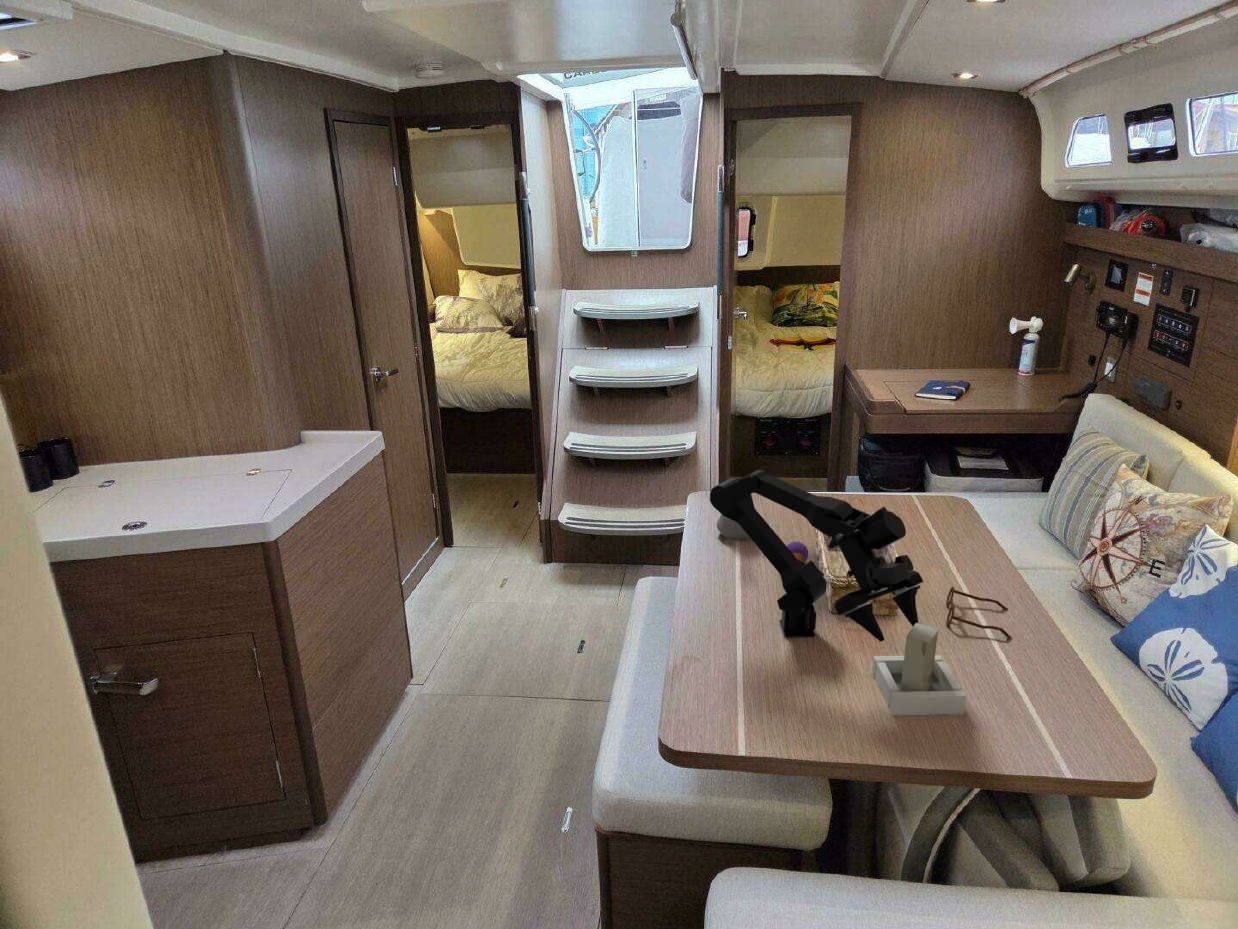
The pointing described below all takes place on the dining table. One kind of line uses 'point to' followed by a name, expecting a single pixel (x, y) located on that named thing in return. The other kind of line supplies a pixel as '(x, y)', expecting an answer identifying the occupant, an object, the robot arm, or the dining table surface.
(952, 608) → the glasses
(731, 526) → the grey conical vessel
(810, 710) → the dining table surface
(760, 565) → the dining table surface
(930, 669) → the skincare box
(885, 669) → the socket block
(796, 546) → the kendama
